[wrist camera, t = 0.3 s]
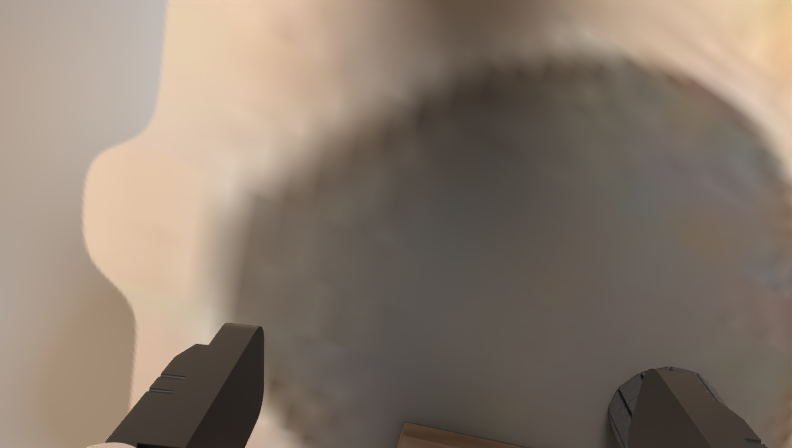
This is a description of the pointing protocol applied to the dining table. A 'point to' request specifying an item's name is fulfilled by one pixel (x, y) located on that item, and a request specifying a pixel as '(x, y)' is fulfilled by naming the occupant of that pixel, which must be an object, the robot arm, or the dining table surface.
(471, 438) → the board
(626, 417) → the ring
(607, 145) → the dining table surface
